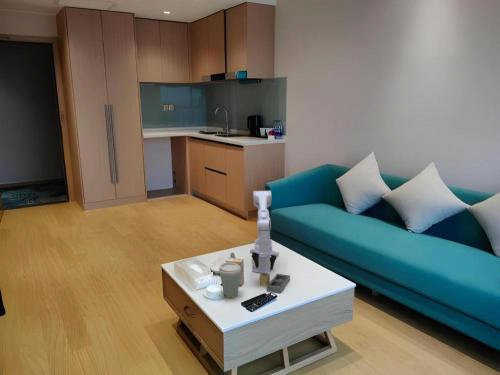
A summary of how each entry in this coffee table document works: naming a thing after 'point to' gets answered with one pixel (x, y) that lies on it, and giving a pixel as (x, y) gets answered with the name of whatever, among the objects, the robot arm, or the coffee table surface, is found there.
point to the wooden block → (264, 279)
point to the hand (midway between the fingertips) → (264, 268)
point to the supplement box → (241, 264)
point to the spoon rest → (221, 261)
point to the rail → (278, 283)
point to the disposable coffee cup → (230, 278)
